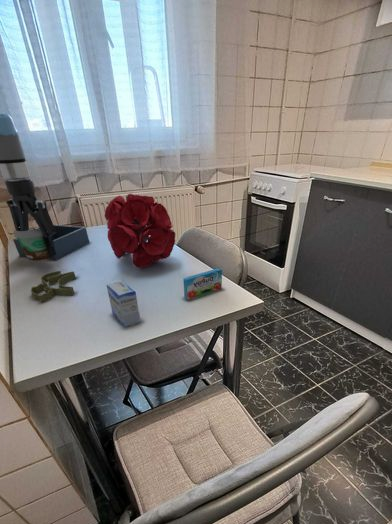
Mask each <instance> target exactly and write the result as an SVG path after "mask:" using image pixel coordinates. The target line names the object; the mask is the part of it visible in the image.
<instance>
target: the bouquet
mask: <svg viewBox="0 0 392 524" xmlns="http://www.w3.org/2000/svg"><path fill="white" fill-rule="evenodd" d="M104 218H105V220H106V221H107V224H106V228H107V240H108V242H109V245H110V247H111V249H112V251H113V254H114V256H115V257H116V259H118V260H119V259H121V258H122V257H123V256H124V255H125V254H128V255H132V264H133V265H134V267H136V268H138V269H141V268H145V267H149V266H151V265H152V264H153V263H156V262H158V261H162V260H166V259H167V258H169V257H170V256H171V254H172V252H173V250H174V246H175V244H176V232H175V231H174V229H172V228H173V227H174V226H173V223H172V221H171V217H170V215H169V213H168V210H167V208H166V207H165V206H164V204H162V203H161V202H160V203H158V201H156V200H155V198H154V196H149V195H139V194H133V193H128V194H126V195H125V198H124V196H122V195H118V196H116V197H114V198H113V199H111V200H110V201H109V203H108V205H107V206H106V207H105V210H104Z"/></svg>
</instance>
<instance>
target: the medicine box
mask: <svg viewBox="0 0 392 524" xmlns="http://www.w3.org/2000/svg"><path fill="white" fill-rule="evenodd" d="M106 290H107V295H108V299H109V304H110V308H111V313H112V315H113V316H114V317H115V319H117V321H119V323H120V324H121V325H122V326H123V327H125V328H127V327H129V326H132V325H135V324H138V323H140V322H141V315H140V309H139V304H138V297H137V293H136V290H134V289H133V288H132V287H131V286H129V285H128V284H127V283H125V282H124V281H123V280H118V281H113V282H111V283H107V284H106Z"/></svg>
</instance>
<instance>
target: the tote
mask: <svg viewBox="0 0 392 524" xmlns="http://www.w3.org/2000/svg"><path fill="white" fill-rule="evenodd" d="M53 225H54V228H55V230H56V233H55V234H53V235H52V238H53V241H54V248H55V251H56V255H55V256H53V257H51V258H49V259H47V260H49V261H57V260H59V259H61V258H63V257H65V256H68V255H69V254H71V253H72V252H75V251H77V250H79V249H81V248H83V247H84V246H87V245H88V244H90V238H89V235H88V231H87V228H86V226H74V225H59V224H53ZM12 241H13V243H14V246H15V249H16V251H17V253H18V256H19V257H21V258H27V256H26V254H25V252H24V250H23V248H22V246H21V244H20V242H19V240H18V238H16V237H15V238H13V239H12Z"/></svg>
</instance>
